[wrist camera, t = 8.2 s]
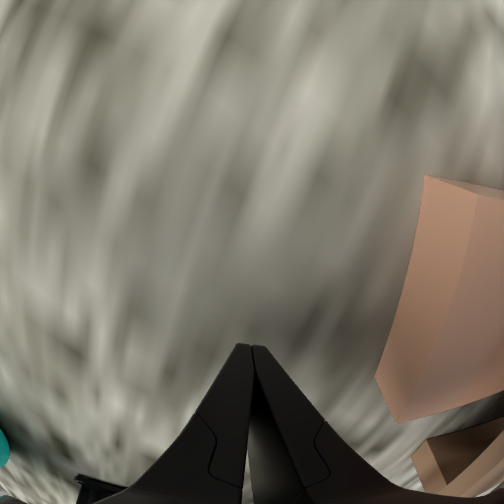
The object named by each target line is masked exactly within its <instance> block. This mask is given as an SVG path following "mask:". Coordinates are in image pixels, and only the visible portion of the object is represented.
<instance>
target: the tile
mask: <svg viewBox="0 0 504 504" xmlns="http://www.w3.org/2000/svg"><path fill="white" fill-rule="evenodd" d="M374 378H375V380H376V382H377V384H378V386H379V388H380V391H381V393H382V395H383V397H384V399H385V401H386V404H387V406H388V408H389V410H390V412H391V415H392V417H393V419H394V421H395V424H397V423H402V422H406V421H410V420H414V419H418V418H422V417H426V416H430V415H433V414H437V413H440V412H444V411H447V410H450V409H453V408H457V407H460V406H463V405H466V404H469V403H471V402H474V401H477V400H480V399H483V398H485V397H488V396H490V395H493V394H496V393H498V392H501V391H503V390H504V190H499V189H495V188H490V187H486V186H481V185H476V184H472V183H467V182H462V181H456V180H451V179H445V178H440V177H434V176H428V175H425V179H424V186H423V193H422V200H421V206H420V212H419V218H418V223H417V228H416V234H415V239H414V243H413V248H412V253H411V257H410V261H409V266H408V270H407V274H406V278H405V282H404V286H403V289H402V293H401V297H400V300H399V304H398V307H397V311H396V314H395V318H394V321H393V324H392V327H391V330H390V334H389V337H388V340H387V343H386V346H385V349H384V351H383V354H382V357H381V360H380V363H379V365H378V368H377V371H376V373H375V376H374Z"/></svg>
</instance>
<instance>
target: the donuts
mask: <svg viewBox="0 0 504 504" xmlns="http://www.w3.org/2000/svg"><path fill="white" fill-rule="evenodd" d="M9 455H10V449H9V445H8V442H7V439H6V437H5V435H4V433H3V432H2V430H1V428H0V467H2V466H4V465H5V464H6V463H7V462H8V459H9Z"/></svg>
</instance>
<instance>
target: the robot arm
mask: <svg viewBox="0 0 504 504" xmlns="http://www.w3.org/2000/svg"><path fill="white" fill-rule="evenodd" d="M247 449H248V458H249V467H250V475H251V484H252V492H253V500H254V504H504V488H499V489H497V490H495V491H493V492H491V493H490V494H487V495H485V496H481V497H472V498H468V497H455V496H447V495H439V494H432V493H425V492H419V491H414V490H409V489H405V488H402V487H399V486H397V485H395V484H393V483H392V482H390V481H389V480H387V479H386V478H385V477H384V476H382V475H381V474H380V473H379V472H378V471H377V470H375V469H374V468H373V467H372V466H371V465H370V464H369V463H367V462H366V461H365V460H364V459H363V458H362V457H361V456H359V455H358V454H357V453H356V452H355V451H354V450H353V449H352V448H351V447H350V446H349V445H348V444H347V443H346V442H345V441H344V440H343V439H342V438H341V437H340V436H339V435H338V434H337V433H336V432H335V431H334V429H333V428H332V427H331V426H330V425H329V424H328V422H327V421H325V419H324V418H323V417H322V416H321V414H320V413H319V412H318V411H317V410H316V408H315V407H314V406H313V405H312V404H311V402H310V401H309V400H308V399H307V398H306V396H305V395H304V394H303V393H302V391H301V390H300V389H299V388H298V387H297V385H296V384H295V383H294V382H293V380H292V379H291V378H290V377H289V376H288V374H287V373H286V372H285V371H284V369H283V368H282V367H281V366H280V364H279V363H278V362H277V361H276V359H275V358H274V357H273V356H272V354H271V353H270V352H269V350H268V349H267V348H266V347H265V346H260V345H252V346H250V345H249V344H242V343H237V344H236V346H235V347H234V349H233V351H232V352H231V354H230V356H229V357H228V359H227V361H226V362H225V364H224V366H223V367H222V369H221V370H220V372H219V374H218V375H217V377H216V379H215V380H214V382H213V384H212V385H211V387H210V388H209V390H208V392H207V393H206V395H205V397H204V398H203V400H202V401H201V403H200V405H199V406H198V408H197V409H196V411H195V413H194V414H193V416H192V417H191V419H190V420H189V422H188V423H187V425H186V426H185V428H184V429H183V430H182V432H181V433H180V435H179V436H178V437H177V438H176V439H175V441H174V442H173V443H172V444H171V445H170V447H169V448H168V449H167V450H166V451H165V452H164V453H163V454H162V455H161V456H160V457H159V458H158V459H157V460H156V462H155V463H154V464H153V465H152V466H151V467H150V468H149V469H148V470H147V471H146V472H145V473H144V474H143V475H142V476H141V477H140V478H139V479H138V480H137V481H136V482H134V483H133V484H132V485H131V486H129V487H128V488H126V489H121V488H117V487H114V486H110V485H106V484H103V483H99V482H96V481H93V480H90V479H86V478H83V477H80V476H75V479H74V481H75V483H76V484H77V485H78V487H79V488H80V491H79V495H78V498H77V502H76V504H241V502H242V489H243V482H244V473H245V464H246V454H247ZM0 504H27V503H25V502H23V501H21V500H19V499H16V498H14V497H11V496H8V495H4V496H1V497H0Z"/></svg>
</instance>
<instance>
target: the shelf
mask: <svg viewBox="0 0 504 504" xmlns="http://www.w3.org/2000/svg"><path fill="white" fill-rule="evenodd" d="M411 458H412V461H413V463H414V466H415V468H416V470H417V473H418V475H419V478H420V480H421V483H422V485H423V488H424V490H425V493H432V494H439V495H447V496H455V497H468V498H472V497H475V496H477V495H479V494H481V493H483V492H485V491H487V490H489V489H490V488H492V487H494V486H496V485H497V484H499V483H501V482H503V481H504V416H503V417H501V418H498V419H495V420H493V421H490V422H487V423H484V424H481V425H478V426H475V427H471V428H468V429H465V430H461V431H458V432H454V433H451V434H447V435H443V436H439V437H435V438H431V439H426V440H425V441H424V442H423V444H422V445H421V446H420V447H419V448H418V449H417V450H416V451H415V452H414V454H413V455H412V456H411Z"/></svg>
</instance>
